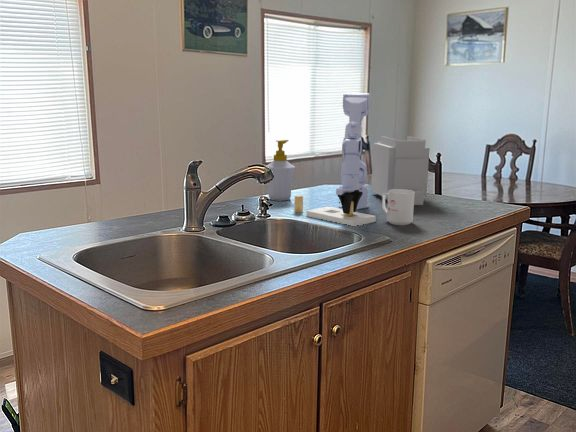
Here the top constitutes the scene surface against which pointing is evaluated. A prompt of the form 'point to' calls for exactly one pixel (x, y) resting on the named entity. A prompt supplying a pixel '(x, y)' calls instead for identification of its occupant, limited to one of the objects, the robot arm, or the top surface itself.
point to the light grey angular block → (400, 166)
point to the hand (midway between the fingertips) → (349, 212)
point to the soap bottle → (281, 175)
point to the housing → (340, 216)
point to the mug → (399, 206)
